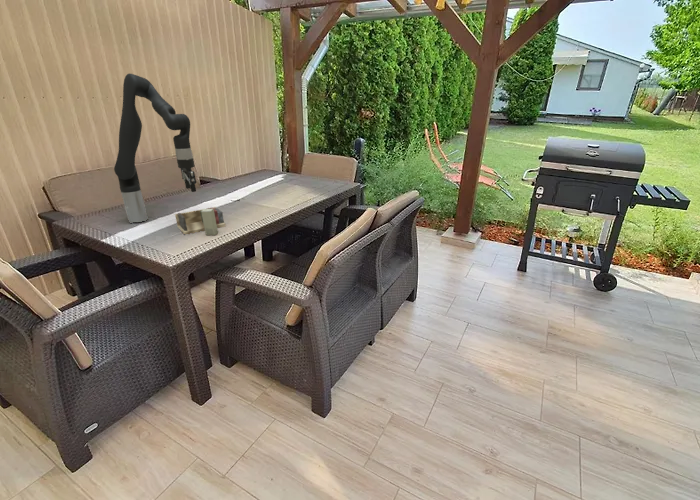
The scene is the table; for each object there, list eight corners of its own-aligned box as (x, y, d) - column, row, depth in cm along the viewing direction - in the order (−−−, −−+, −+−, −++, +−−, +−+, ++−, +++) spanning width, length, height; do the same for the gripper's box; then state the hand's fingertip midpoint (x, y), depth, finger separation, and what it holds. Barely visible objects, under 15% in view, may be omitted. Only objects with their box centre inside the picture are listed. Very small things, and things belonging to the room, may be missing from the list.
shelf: (184, 235, 175) (181, 219, 172) (177, 227, 184) (174, 212, 181) (225, 226, 187) (223, 211, 183) (217, 219, 196) (215, 205, 193)
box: (218, 232, 179) (214, 208, 174) (215, 235, 175) (211, 211, 170) (207, 232, 179) (203, 208, 173) (205, 235, 175) (200, 211, 169)
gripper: (172, 156, 173) (179, 188, 180) (181, 160, 163) (187, 194, 170) (188, 155, 178) (194, 186, 184) (197, 158, 168) (203, 191, 174)
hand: (191, 190), depth 177 cm, fingers open, 8 cm apart
